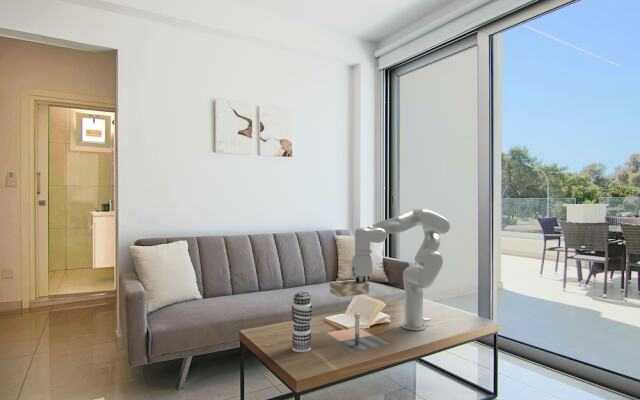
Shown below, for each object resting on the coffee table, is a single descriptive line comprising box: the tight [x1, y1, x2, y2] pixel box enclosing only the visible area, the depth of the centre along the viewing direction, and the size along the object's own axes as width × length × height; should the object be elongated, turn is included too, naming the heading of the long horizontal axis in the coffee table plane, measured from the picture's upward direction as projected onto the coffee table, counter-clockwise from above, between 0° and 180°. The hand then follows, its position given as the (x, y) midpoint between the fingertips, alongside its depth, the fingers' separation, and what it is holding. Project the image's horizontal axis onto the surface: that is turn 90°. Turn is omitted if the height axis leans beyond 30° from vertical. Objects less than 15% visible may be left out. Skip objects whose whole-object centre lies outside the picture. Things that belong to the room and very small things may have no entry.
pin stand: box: [323, 312, 391, 353], centre depth 185 cm, size 21×26×16 cm
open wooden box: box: [329, 279, 370, 298], centre depth 190 cm, size 16×10×5 cm, turn 116°
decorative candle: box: [291, 291, 313, 353], centre depth 175 cm, size 9×9×25 cm
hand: (362, 289), depth 193 cm, fingers closed on open wooden box, 1 cm apart
